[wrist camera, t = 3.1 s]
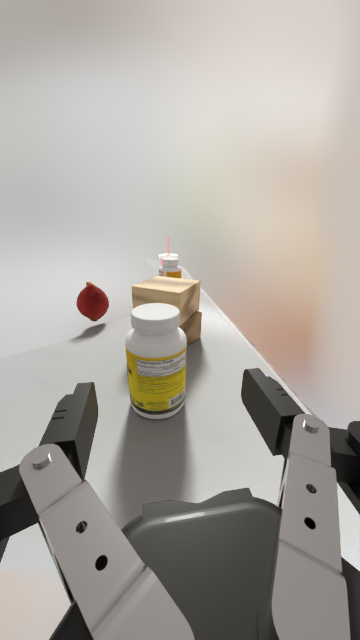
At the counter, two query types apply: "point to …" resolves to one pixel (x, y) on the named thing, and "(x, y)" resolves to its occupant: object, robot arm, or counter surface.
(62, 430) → the robot arm
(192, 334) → the lower block
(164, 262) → the supplement bottle
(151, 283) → the upper block
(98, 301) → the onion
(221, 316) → the counter surface
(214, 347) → the counter surface
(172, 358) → the pill bottle
